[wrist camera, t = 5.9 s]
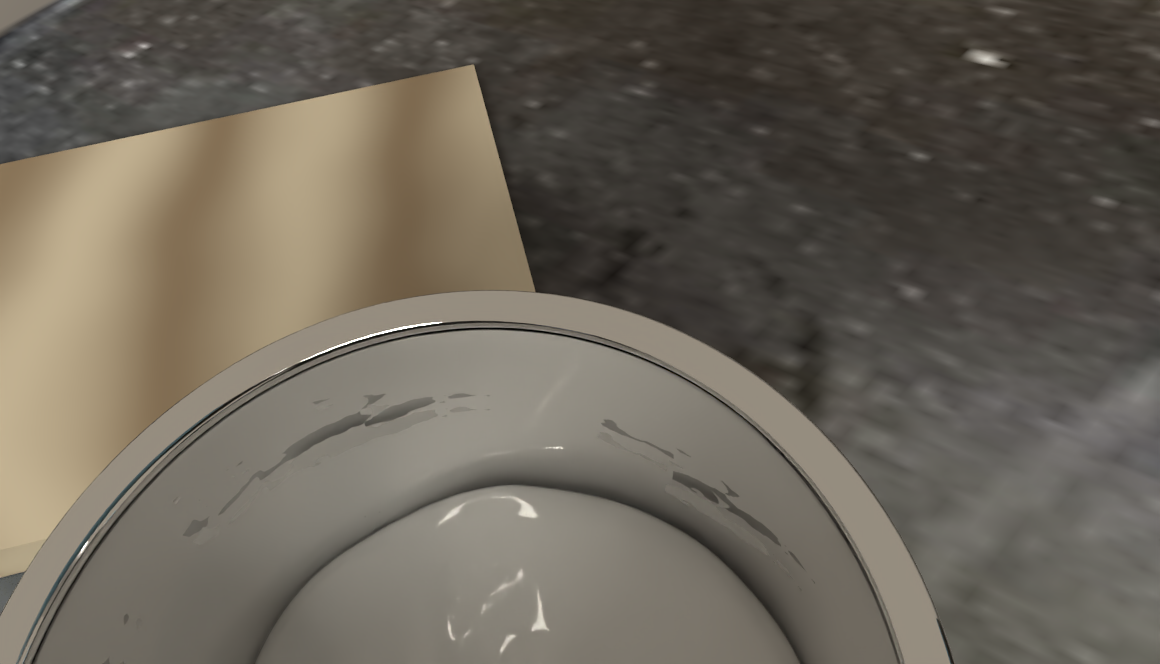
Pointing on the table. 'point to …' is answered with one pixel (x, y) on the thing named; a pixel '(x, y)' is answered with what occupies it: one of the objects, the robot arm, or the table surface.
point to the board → (222, 262)
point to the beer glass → (477, 509)
